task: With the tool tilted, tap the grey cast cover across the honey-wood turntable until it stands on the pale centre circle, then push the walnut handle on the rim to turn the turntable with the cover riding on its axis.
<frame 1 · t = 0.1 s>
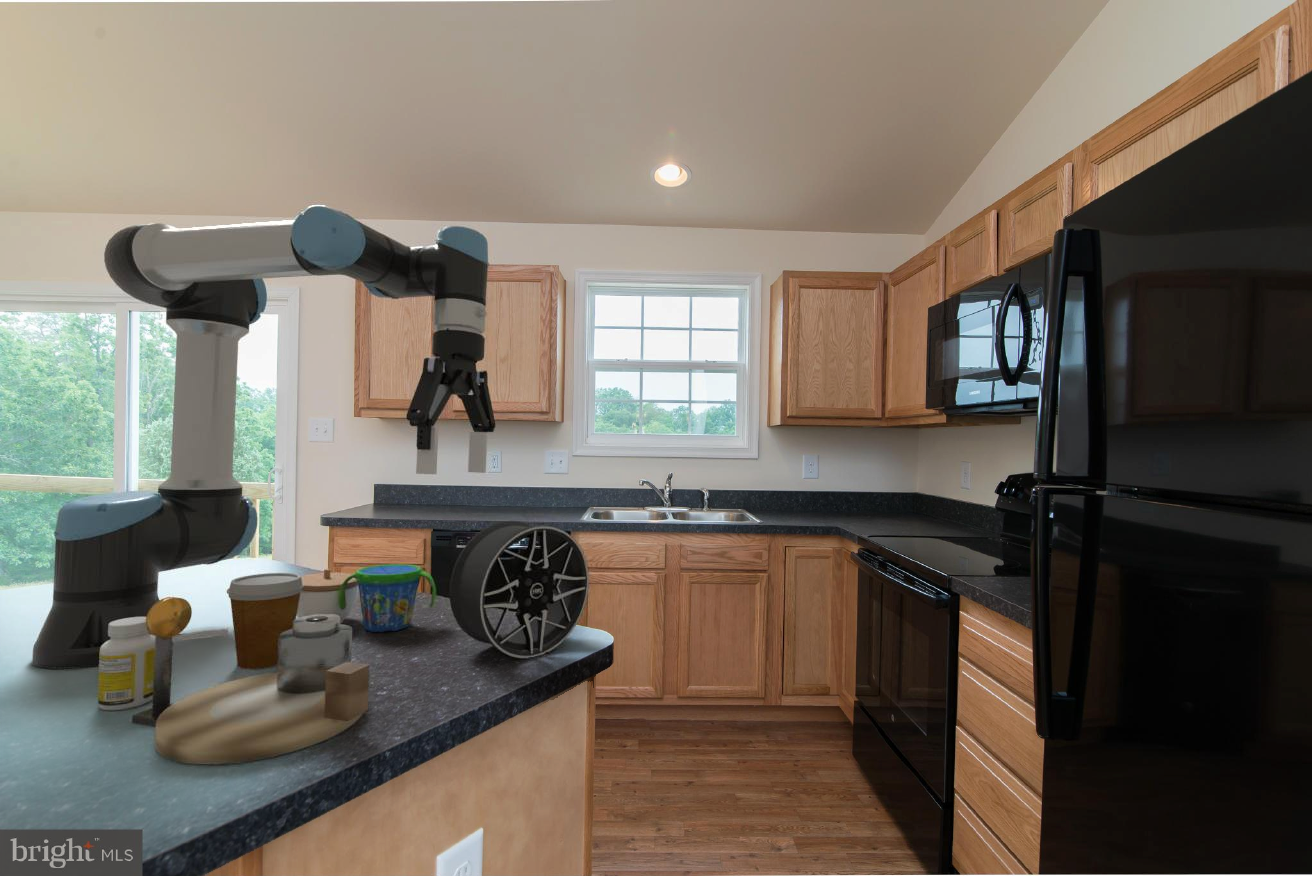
hand: (453, 473, 92), 28 cm above the counter, tool pointing down, fingers open, 13 cm apart
supplement bottle: (127, 704, 73), on the counter
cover: (314, 681, 76), point 2 cm above the counter, touching turntable
turntable: (276, 689, 69), point 4 cm above the counter, hinge at 0.0°, touching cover
snack cup: (387, 628, 106), on the counter, touching lidded jar
lidded jar: (324, 623, 108), on the counter, touching snack cup
wheel rim: (519, 651, 97), on the counter
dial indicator: (160, 718, 70), on the counter
disposable coffee cup: (263, 663, 88), on the counter
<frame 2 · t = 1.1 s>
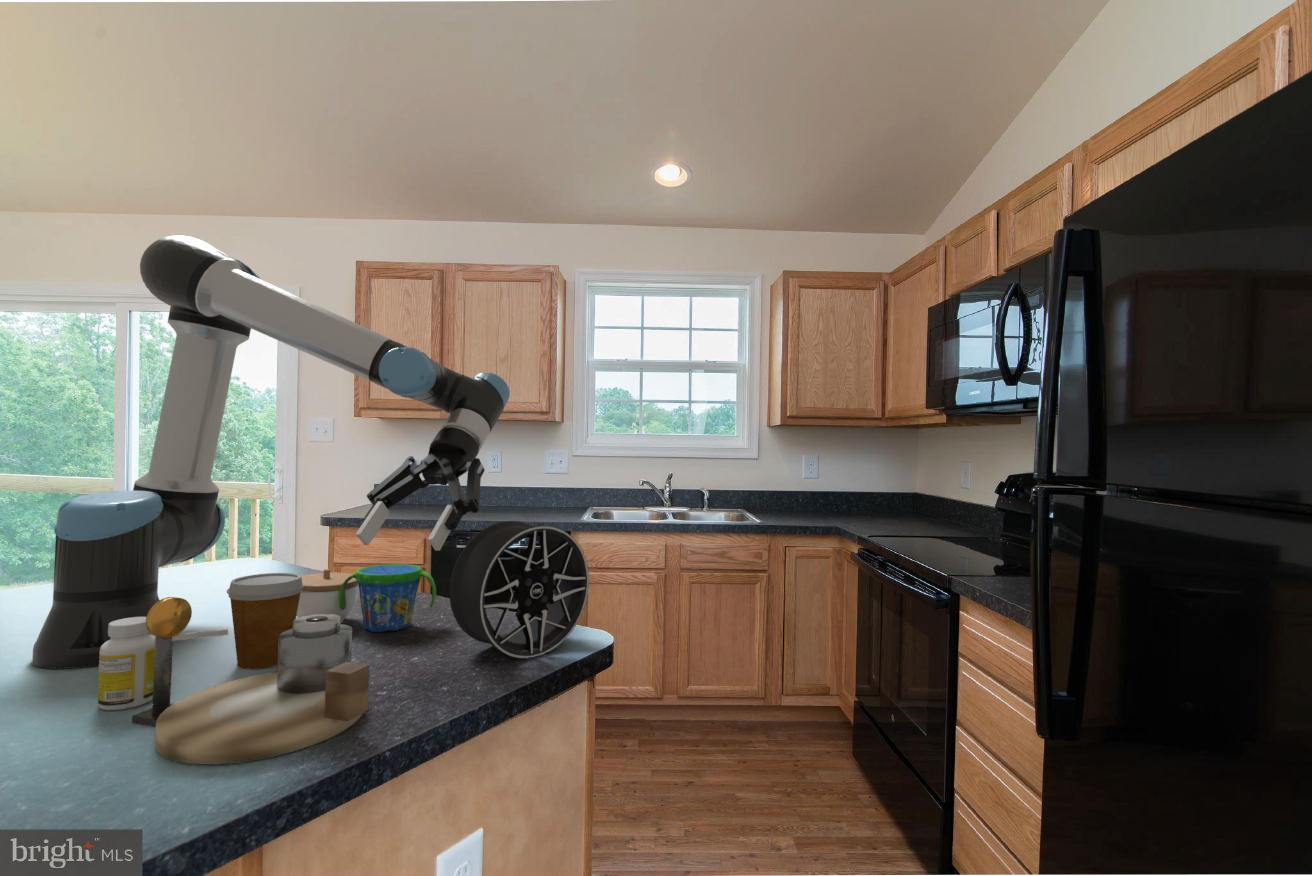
hand: (397, 542, 90), 17 cm above the counter, tool tilted 45°, fingers open, 12 cm apart
nothing on the counter moved.
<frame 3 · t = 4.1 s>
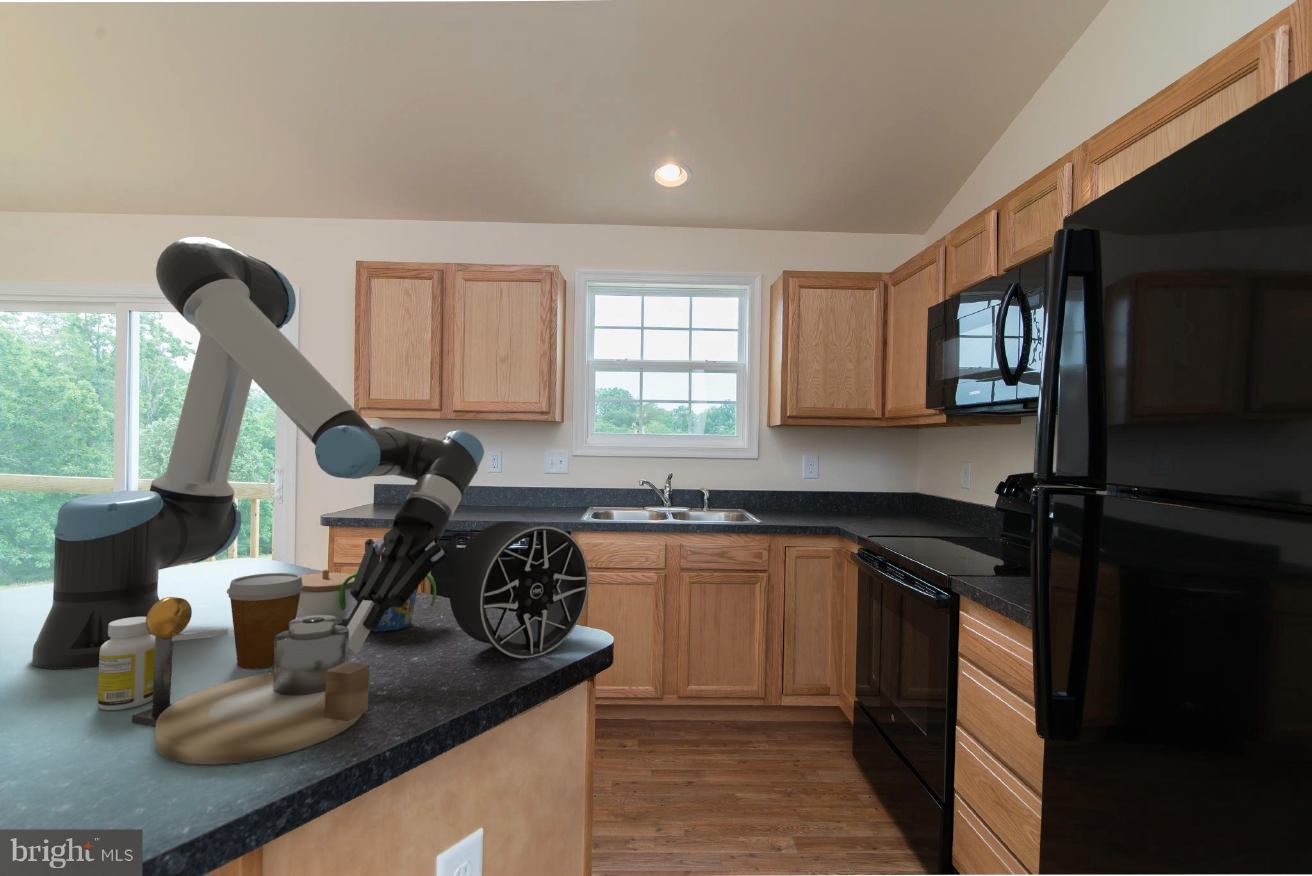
hand: (346, 649, 80), 5 cm above the counter, tool tilted 45°, fingers closed
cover: (311, 682, 75), point 2 cm above the counter, touching gripper, turntable
everything else where it was.
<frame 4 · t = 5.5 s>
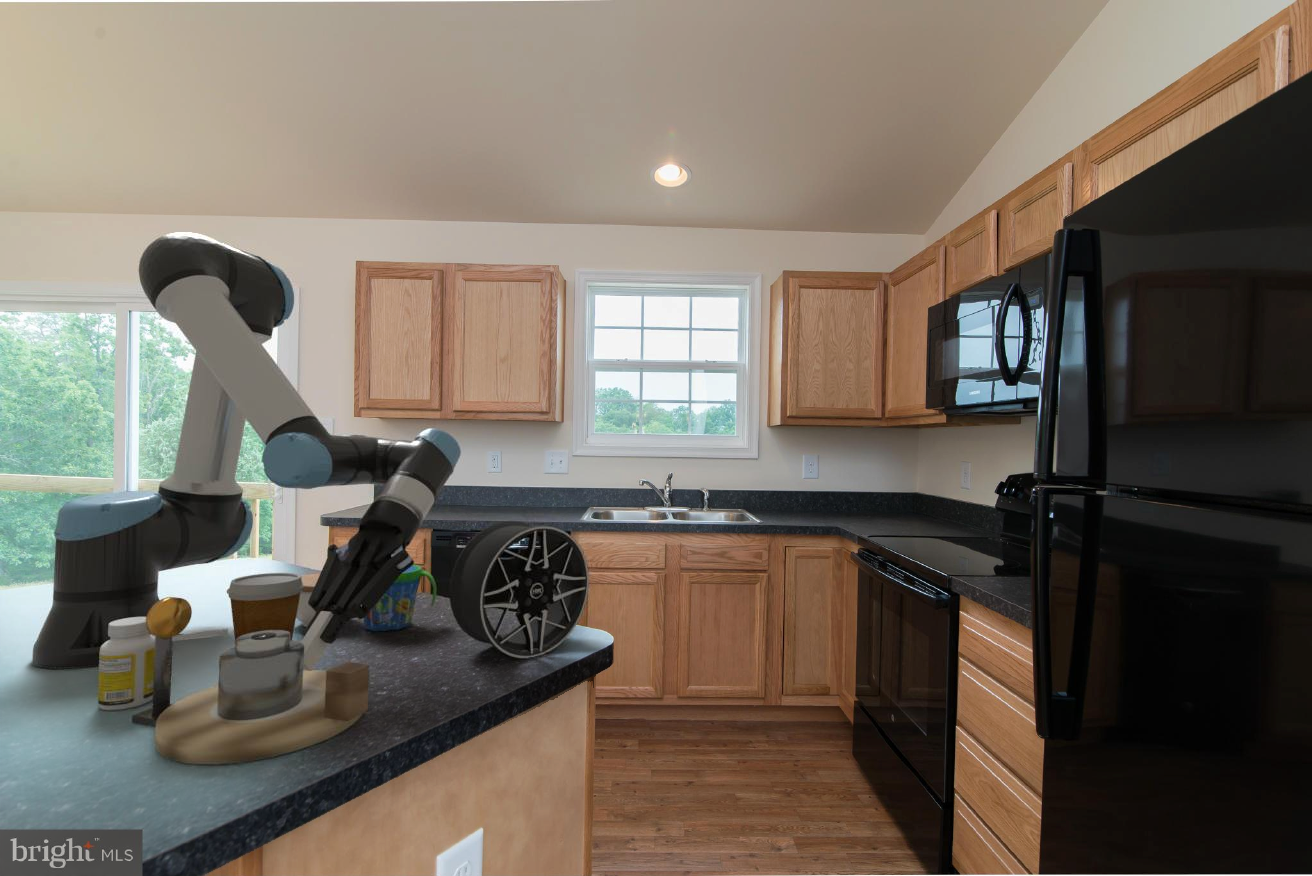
hand: (301, 664, 74), 5 cm above the counter, tool tilted 45°, fingers closed
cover: (260, 704, 68), point 2 cm above the counter, touching gripper, turntable
everything else where it was.
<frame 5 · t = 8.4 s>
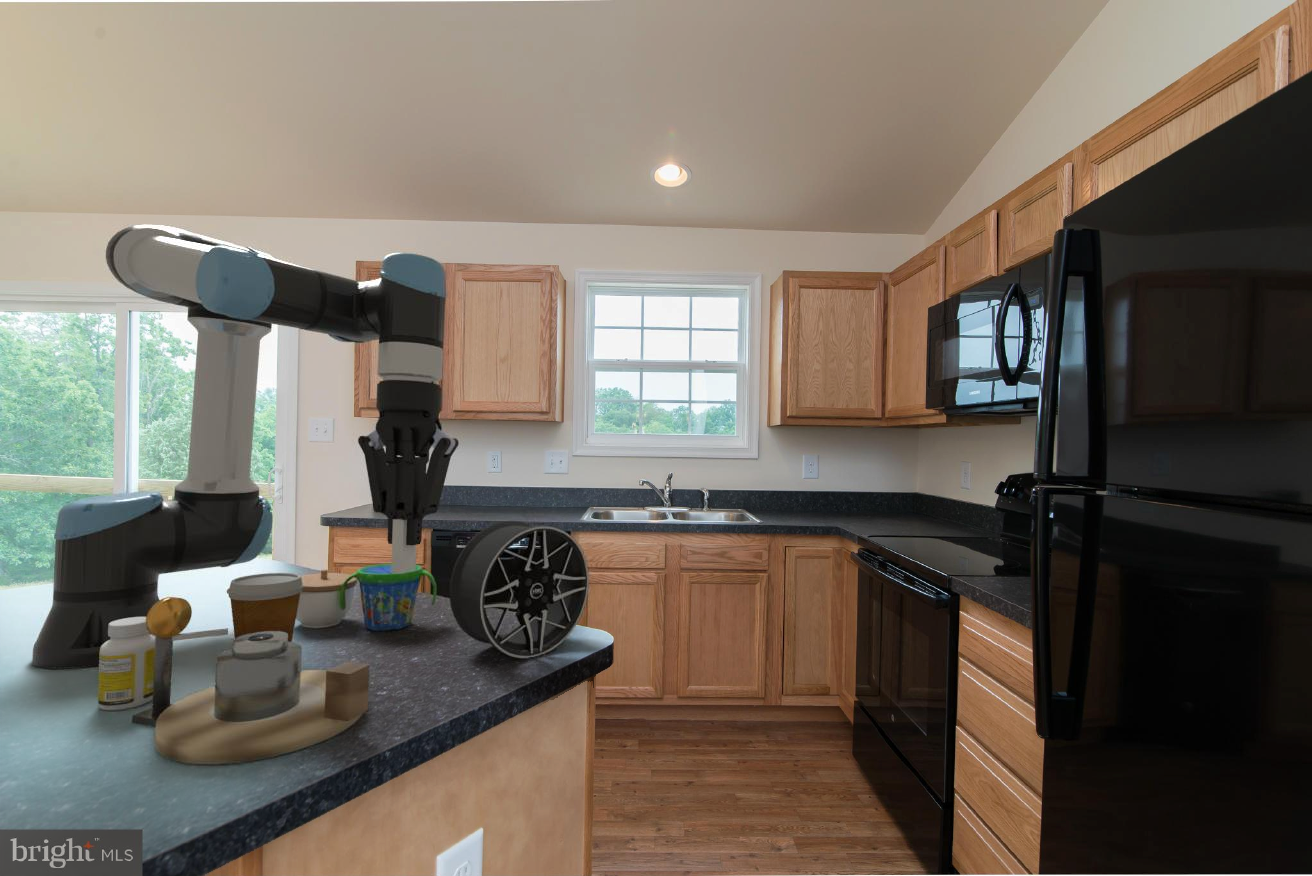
hand: (403, 571, 76), 16 cm above the counter, tool pointing down, fingers closed
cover: (258, 706, 68), point 2 cm above the counter, touching turntable
everything else where it was.
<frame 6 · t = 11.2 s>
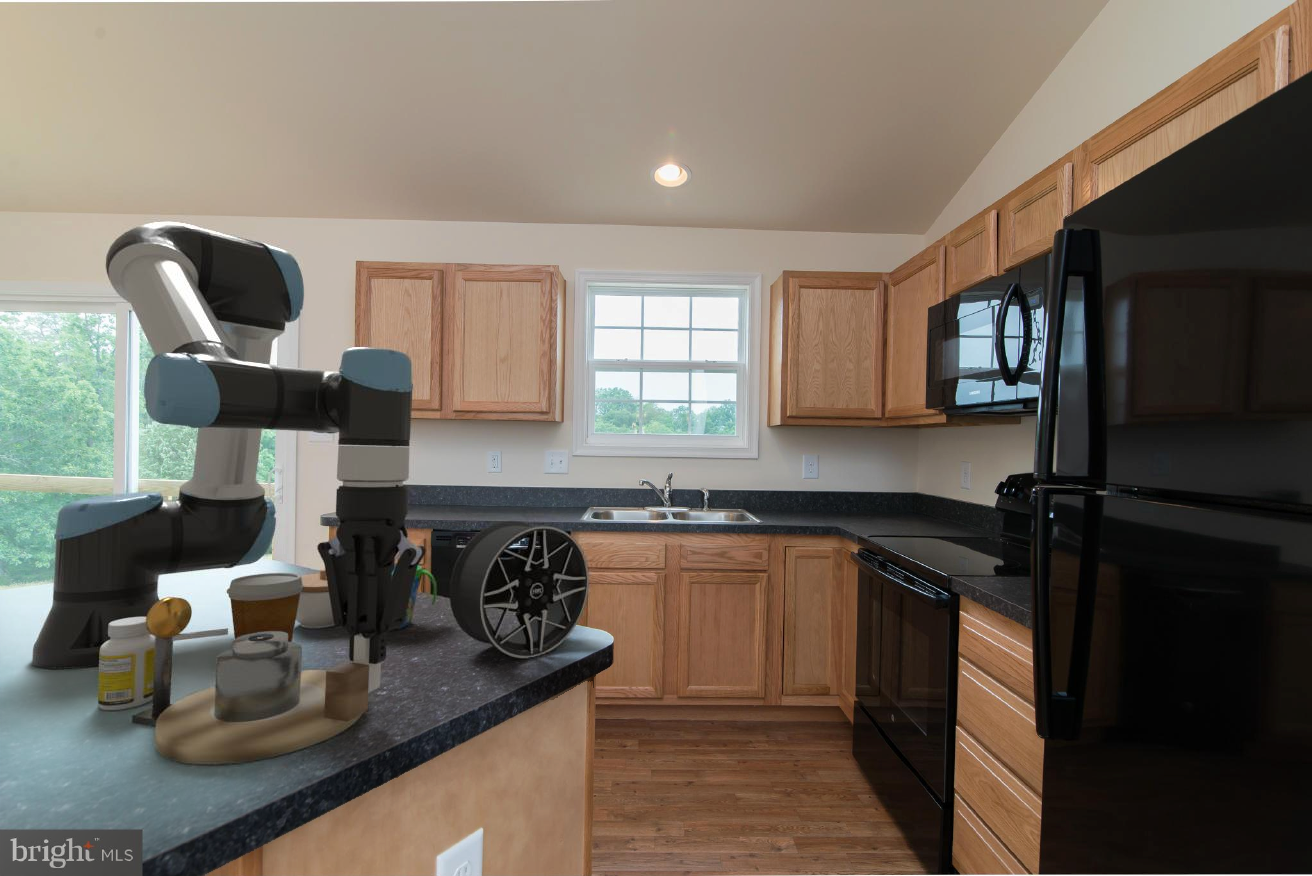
hand: (366, 690, 70), 4 cm above the counter, tool pointing down, fingers closed
turntable: (276, 689, 69), point 4 cm above the counter, hinge at 0.2°, touching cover, gripper
everything else where it was.
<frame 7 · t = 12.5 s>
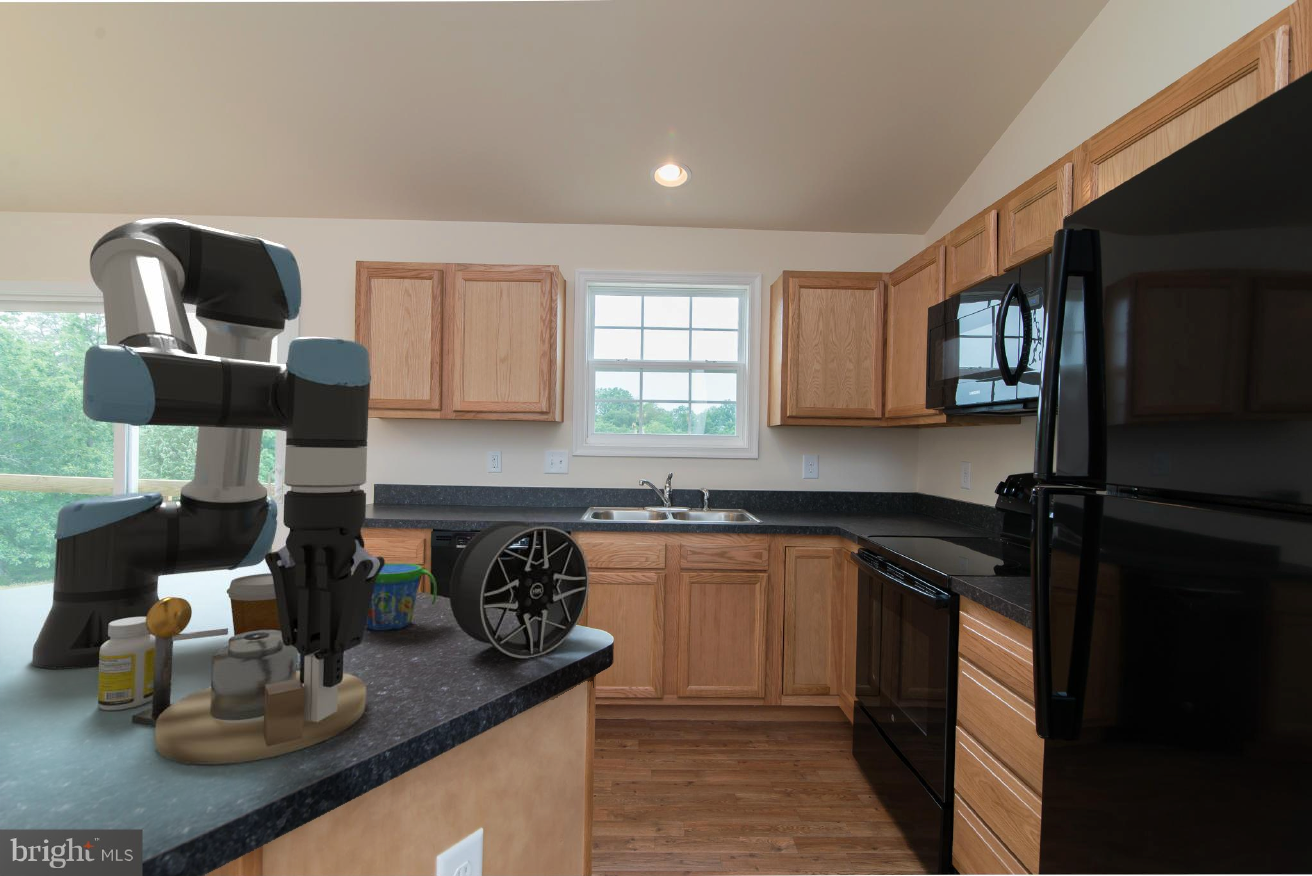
hand: (320, 715, 63), 4 cm above the counter, tool pointing down, fingers closed
turntable: (270, 691, 69), point 4 cm above the counter, hinge at 36.7°, touching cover, gripper
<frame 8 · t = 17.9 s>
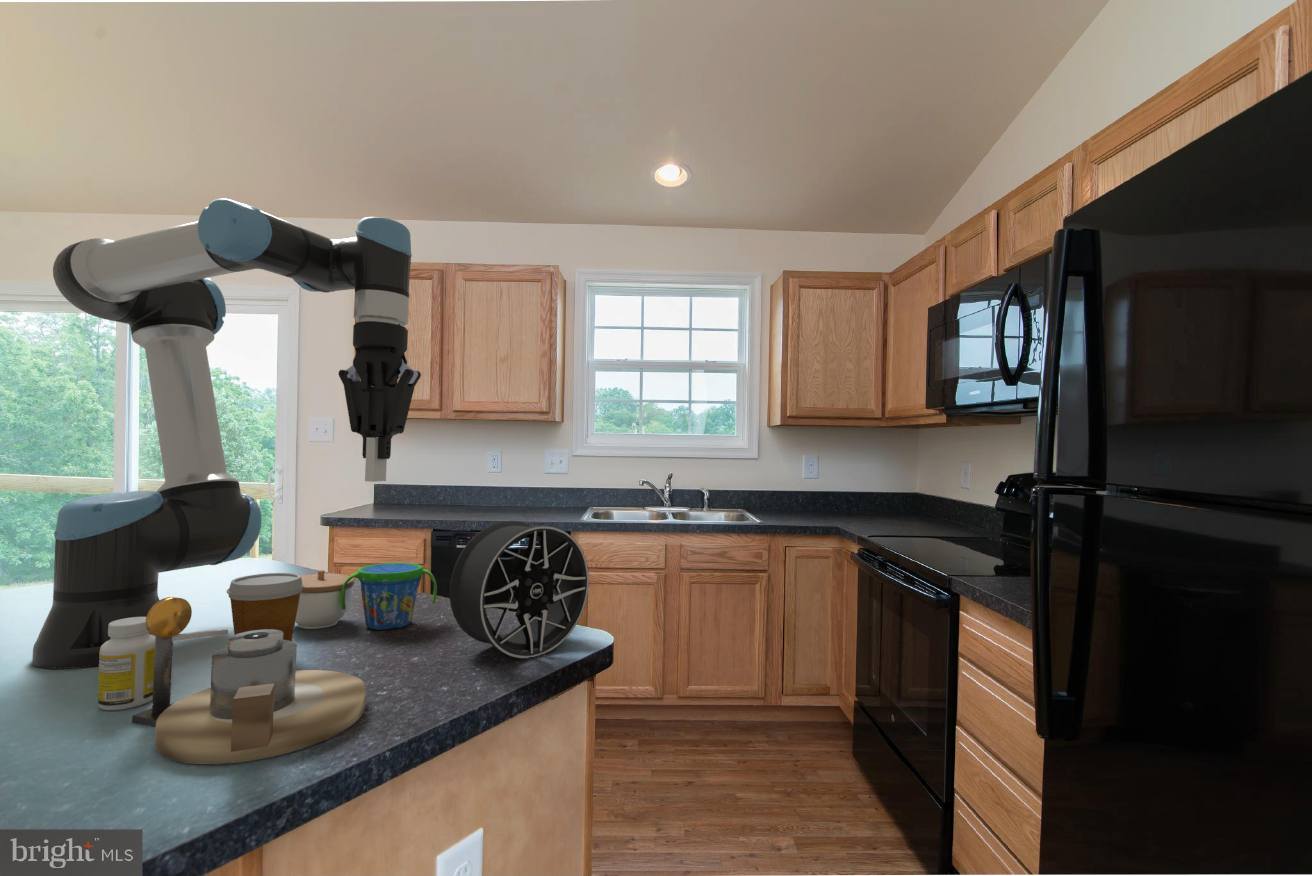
hand: (375, 480, 91), 26 cm above the counter, tool pointing down, fingers closed
turntable: (268, 691, 69), point 4 cm above the counter, hinge at 50.6°, touching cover
at the end: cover 1.5 cm off-centre on the turntable, point 2.3 cm above the turntable's base; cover tilted 0°; turntable at +51° (first picture: +0°) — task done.
